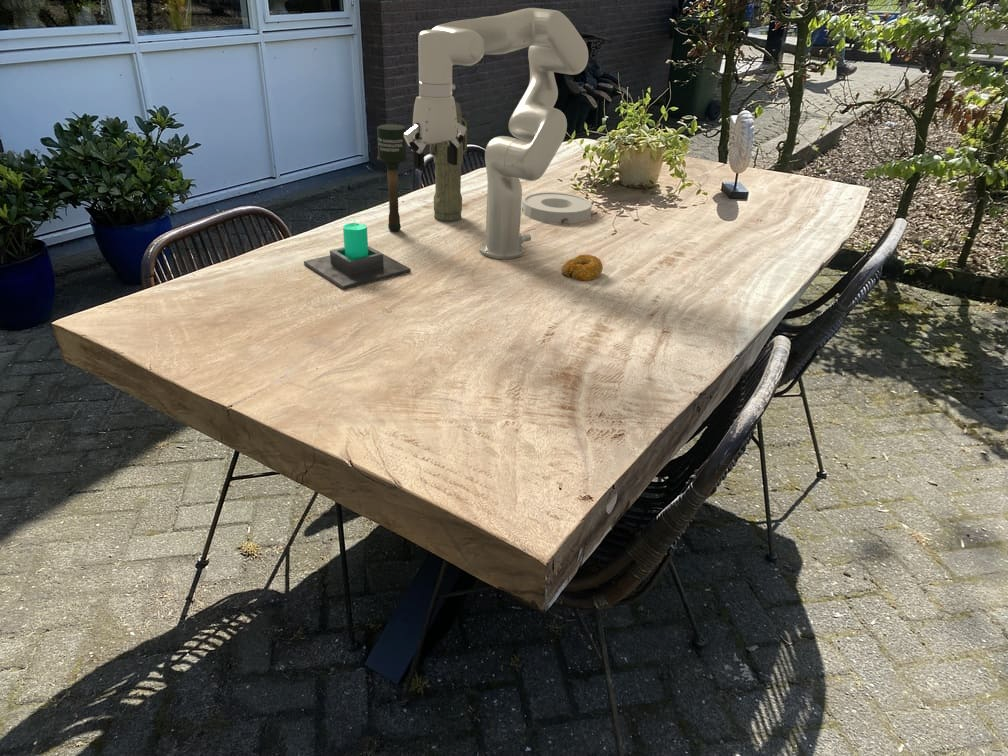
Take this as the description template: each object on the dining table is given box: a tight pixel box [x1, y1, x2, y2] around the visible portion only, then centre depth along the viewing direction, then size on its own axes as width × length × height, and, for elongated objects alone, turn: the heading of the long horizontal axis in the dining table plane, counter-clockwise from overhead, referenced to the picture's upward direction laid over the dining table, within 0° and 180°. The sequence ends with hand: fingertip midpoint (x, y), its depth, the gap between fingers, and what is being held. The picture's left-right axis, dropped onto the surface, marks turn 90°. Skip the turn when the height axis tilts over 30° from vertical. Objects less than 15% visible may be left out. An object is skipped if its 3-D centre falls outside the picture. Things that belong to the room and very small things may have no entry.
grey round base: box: [521, 191, 593, 224], centre depth 235 cm, size 23×23×4 cm
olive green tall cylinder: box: [428, 101, 468, 223], centre depth 216 cm, size 9×12×35 cm
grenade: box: [376, 123, 409, 233], centre depth 204 cm, size 8×9×30 cm
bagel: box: [560, 253, 604, 282], centre depth 188 cm, size 10×11×5 cm
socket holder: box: [303, 245, 412, 291], centre depth 184 cm, size 20×20×4 cm
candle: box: [342, 220, 369, 260], centre depth 181 cm, size 6×6×12 cm
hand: (435, 166), depth 169 cm, fingers open, 9 cm apart
